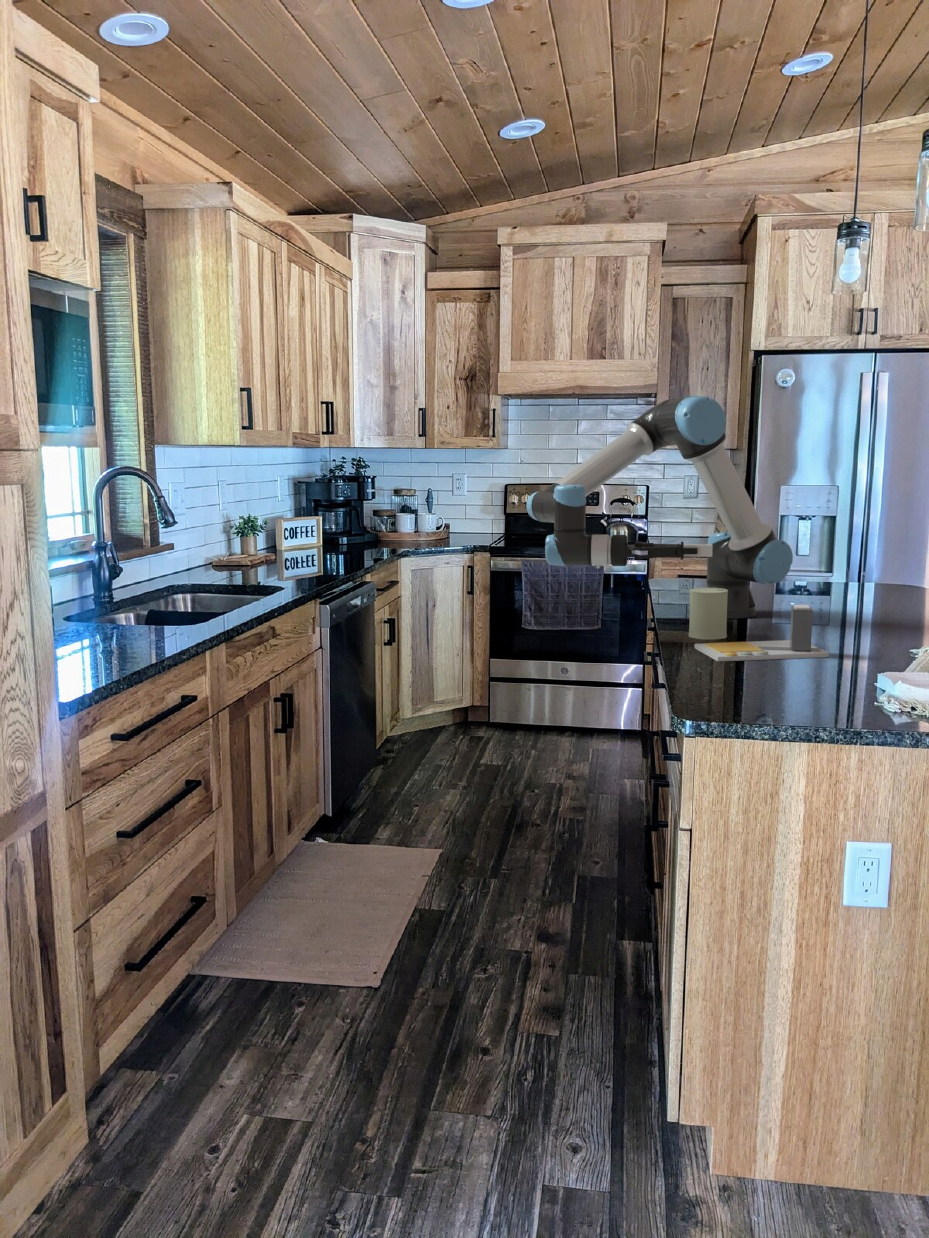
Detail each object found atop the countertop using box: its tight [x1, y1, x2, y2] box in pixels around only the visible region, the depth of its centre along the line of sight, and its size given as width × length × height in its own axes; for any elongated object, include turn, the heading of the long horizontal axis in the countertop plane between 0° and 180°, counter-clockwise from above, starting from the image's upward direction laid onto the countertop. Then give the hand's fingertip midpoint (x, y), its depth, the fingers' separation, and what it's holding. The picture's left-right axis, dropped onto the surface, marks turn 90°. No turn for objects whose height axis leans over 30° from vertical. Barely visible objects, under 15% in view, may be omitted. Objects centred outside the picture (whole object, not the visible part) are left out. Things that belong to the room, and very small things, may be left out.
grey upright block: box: [789, 604, 814, 651], centre depth 209 cm, size 4×5×9 cm
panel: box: [694, 639, 830, 662], centre depth 213 cm, size 25×15×1 cm, turn 96°
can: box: [688, 587, 728, 641], centre depth 232 cm, size 9×9×12 cm
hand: (712, 550), depth 221 cm, fingers closed
